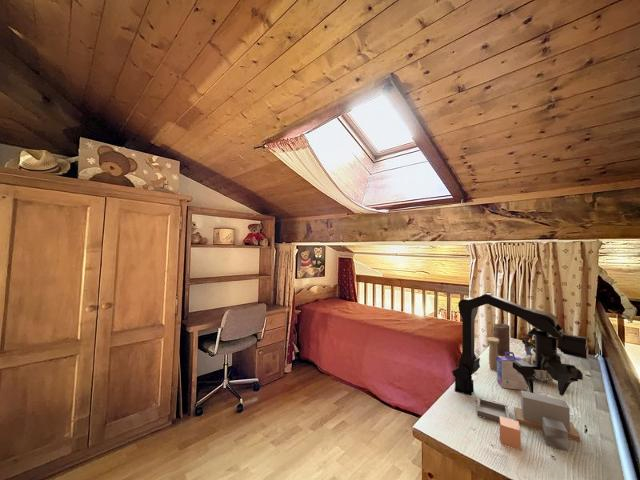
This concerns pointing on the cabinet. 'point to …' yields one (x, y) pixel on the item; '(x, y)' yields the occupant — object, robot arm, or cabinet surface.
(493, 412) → the tray
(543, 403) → the mounted unit
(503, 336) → the candle
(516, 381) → the ink cartridge box
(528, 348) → the doll family
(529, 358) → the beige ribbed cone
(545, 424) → the grey block
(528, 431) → the cabinet surface
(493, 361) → the handle
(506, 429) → the terracotta block
